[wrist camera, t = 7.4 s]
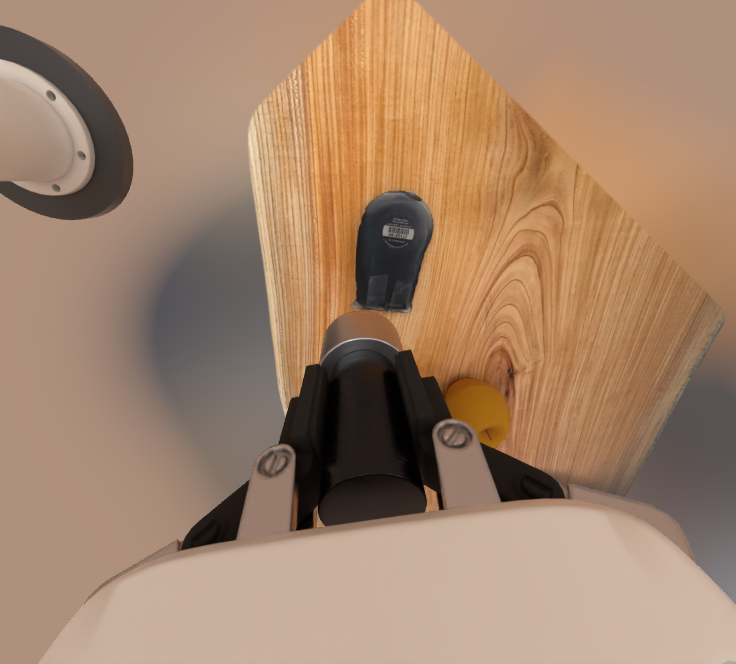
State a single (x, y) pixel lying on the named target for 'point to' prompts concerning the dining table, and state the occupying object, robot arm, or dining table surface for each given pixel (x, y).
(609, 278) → the dining table surface
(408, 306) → the electronic device
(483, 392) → the apple
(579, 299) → the dining table surface
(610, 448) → the dining table surface
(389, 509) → the torch
